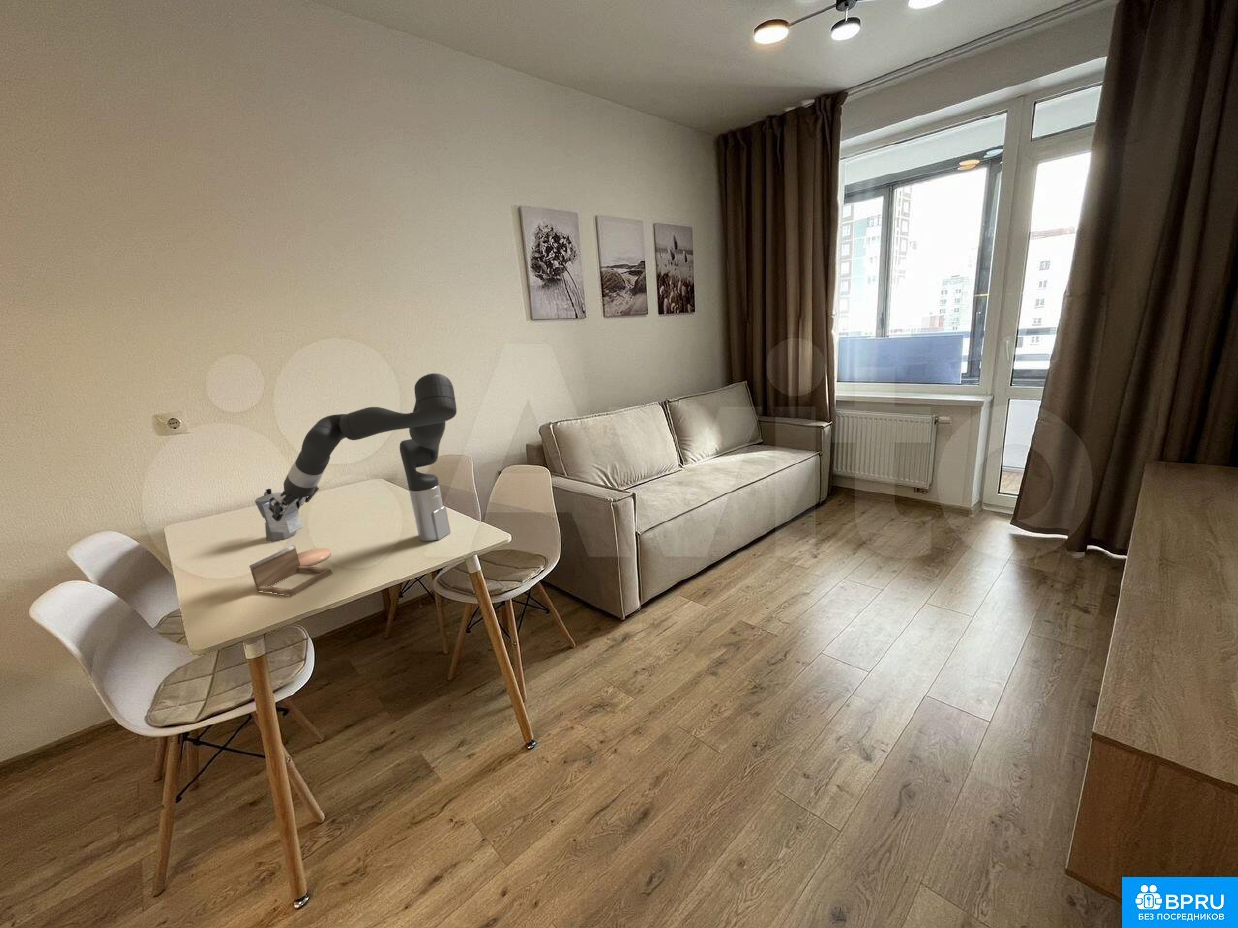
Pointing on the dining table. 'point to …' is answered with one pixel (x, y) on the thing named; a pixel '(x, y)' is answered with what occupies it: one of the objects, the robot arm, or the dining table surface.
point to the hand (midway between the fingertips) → (284, 515)
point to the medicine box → (284, 520)
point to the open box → (283, 572)
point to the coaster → (313, 556)
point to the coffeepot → (269, 535)
